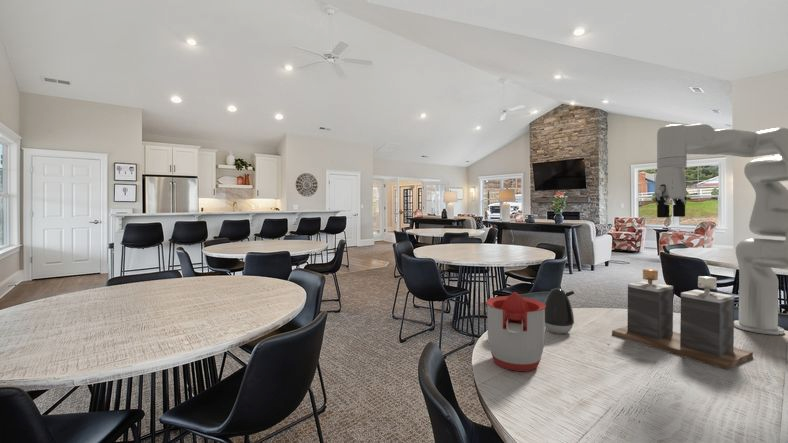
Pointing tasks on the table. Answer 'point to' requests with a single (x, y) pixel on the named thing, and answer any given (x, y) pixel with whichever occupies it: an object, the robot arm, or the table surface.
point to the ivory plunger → (707, 283)
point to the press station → (684, 324)
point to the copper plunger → (650, 275)
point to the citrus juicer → (516, 331)
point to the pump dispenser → (558, 311)
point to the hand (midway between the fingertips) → (671, 217)
